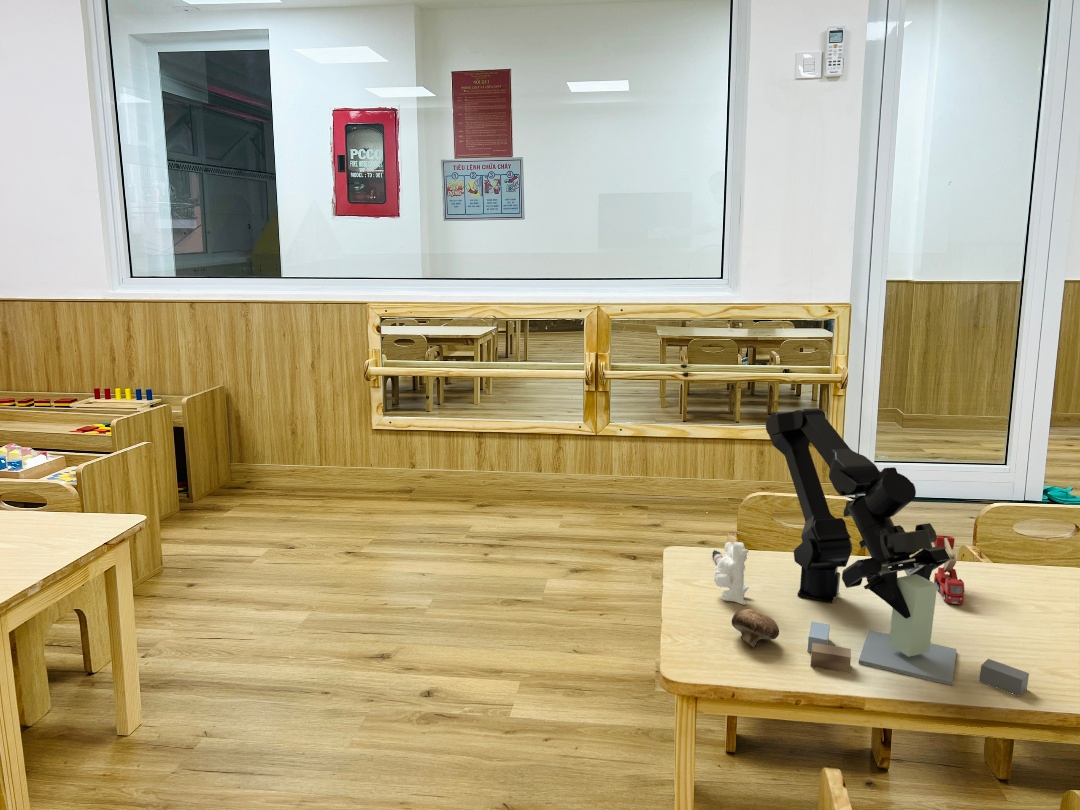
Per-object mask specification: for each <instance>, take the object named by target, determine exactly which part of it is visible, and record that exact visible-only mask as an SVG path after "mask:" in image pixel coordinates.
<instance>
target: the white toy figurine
mask: <svg viewBox="0 0 1080 810" xmlns="http://www.w3.org/2000/svg"><path fill="white" fill-rule="evenodd" d="M724 552H725V555H724V556H723V558H721V559H720V561H719V563H718V564H716V565H715V567H714V574H713V581H714V583H715V585H716V586H717V587H719V588H728V589H723V590H722V591H721V594H722V596H721V597H720V599H721V600H723V601H726V602H735V603H738V604H740V605H743V606H744V605H747V601H746V600H745V599H744V598H745V595H746V594H745V593H747V591H748V590H749V587H748V586H747V585H746V584H745V583H744V582H745V580H744V579H745V574H744V573H745V571H746V565H745V562H746V561H747V559H748V558H747V557H748V553H749V549H747V548H745V544H744V542H740V541H734V542H731V541H727V542H726V543H725V544H724ZM744 584H745V585H744Z"/></svg>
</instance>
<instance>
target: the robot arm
mask: <svg viewBox="0 0 1080 810" xmlns="http://www.w3.org/2000/svg"><path fill="white" fill-rule="evenodd" d="M765 429H766V433H767V434H768V436H769V439H770V441H771V443H772V445H773V447H774V448H775V449H777V450H778V451H779V452H780V453H781V454H782V455H783V456H784V458H785V462H786V464H787V467H788V470H789V475H790V476H791V481H792V483H793V487H794V490H795V493H796V496H797V499H798V503H799V505H800V509H801V512H802V515H803V517H804V521H805V522H804V525H803V528H802V532H801V536H800V537H801V541H802V542H801V543H800V544H799V545H798V546H796V548H795V549H794V550H793V557H794V558H793V559H794V562H795V563H796V564H798V565H799V566H800V567H801V572H800V582H799V583H800V584H799V590H798V592H797V597H801V598H805V599H810V600H815V601H820V602H825V603H833V602H834V599H835V598H836V597H837V596H838V595H839V592H840V583H841V582H840V581H841V579H842V582H843V584H844V586H845V587H846V589H849V588H853V587H859V586H861V585H862V582H863V579H864V578H866V584H865V585H864V586H863V588H864V590H868V591H870V592H873V594H874V595H876V596H878V597H879V598H880V599H881V600H883V601H884V602H885V603H886V604H888V605H889V606H890V607H891V608H892V609H893V608H894V609H895V610H896V611H897V612H898V613H899V614H901V615H902V616H903V617H904V618H909V617H910V616H911V615H910V612H909V609H908V607H907V604H906V602H905V600H904V598H903V596H902V593H901V591H900V589H899V587H898V585H897V578H898V572H901V571H902V572H903V571H904V573H905V576H909V575H914V574H917V575H919V576H921V577H923V578H925V579H927V580H929V581H931V575H932V572H933V571H934V570H936V569H937V568H939V567H940V566H943V565H944V563H946V562H947V561H949V560H950V558H949V556H948V553H947V550H946V549H944V548H942V547H940V546H937V547H935V546H933V544H932V543H933V542H936V540H937V534H936V530H935V528H934V526H932V524H931V523H930V522H929V523H920V524H915V529H914V530H911V531H906V530H905V529H904V527H903V526H901V525H900V524H899V525H895V524H894V521H893V520H892V518H891V517H894V516H896V515H897V514H898V513H899V512H901V511H902V510H903V509H904V508H905V507H907V505H909V504H911V502H913V501H914V499H915V498H916V496H917V495H916V494H917V490H916V487H915V484H914V483H913V482H912V481H911V480H910V479H909V478H908V477H907V476H905V475H903V474H901V473H899V472H898V470H897V468H896V467H884V468H883V469H882V470H881V471H880V470H879V467H877V465H876V464H875V463H873V462H872V461H871V460H870V459H869V458H868V457H867V456H865V455H863V454H860V453H858V452H855V451H854V450H853V449H851V447H849V446H848V444H847V443H846V441H845V440H844V439H843V438H842V436H840V434H839V433H838V432H837V431H836V429H835V428H834V427H833V425H832V424H831V423H830V422H829V420H828V419H827V418H826V415H825V412H824V410H823V409H821V408H820V409H819V408H817V407H814V408H812V407H811V408H799V409H797V410H794V411H793V410H791V411H774V412H772V413H771V414H770V416H769V417H768V418H767V419H766V421H765ZM810 444H812V446H813V447H814V449H815V450H816V451H817V453H818V454H819V455H820V457H822V458H821V459H823V460H824V462H825V463H826V465H827V467H828V469H829V471H828V478H829V481H830V482H831V484H832V486H833V488H834V490H835V491H836V493H837V494H838V495H839V496H841V497H843V496H845V497H847V496H858V497H856V498H855V499H852V500H848V501H846V502H845V508H844V509H843V513H842V515H843V517H844V518H847V517H852V520H853V522H854V524H855V526H856V528H857V531H858V532H859V534H860V536H861V538H862V539H861V541H859V542H858V543H859V546H860V548H861V549H863V548H864V549H865V548H866V549H867V551H868V554H869V555H870V558H863V559H859V560H855V561H854V562H852V564H850V565H849V566H847V564H848V562H849V559H850V556H851V554H852V551H853V543H852V541H851V537H852V536H851V535H850V533H849V531H848V528H847V524H846V521H845V519H843V518H842V517H838V518H836V517H835V516H834V515H833V514H832V513H831V510H830V507H829V505H828V501H827V499H826V495H825V493H824V490H823V486H822V484H821V481H820V477H819V475H818V472H817V468H816V466H815V463H814V459H813V456H812V454H811V450H810ZM838 568H844V569H843V570H842V574H841V573H840V572H839V571H838V570H839V569H838Z"/></svg>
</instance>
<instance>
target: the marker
mask: <svg viewBox="0 0 1080 810" xmlns="http://www.w3.org/2000/svg"><path fill="white" fill-rule="evenodd" d="M711 557H712V559H713V561H714V563H715V564H716V565H717V564H718V563H719V561H720V559H721V558H723V557H724V556H723V555H722V553H721V552H720V551H719V550H718V551H717V550H715V549H714V550H713V551H712V555H711Z"/></svg>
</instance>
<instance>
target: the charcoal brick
mask: <svg viewBox="0 0 1080 810" xmlns="http://www.w3.org/2000/svg"><path fill="white" fill-rule="evenodd" d="M1029 675H1030V673H1029V672H1027V671H1025V670H1021V669H1018V668H1016V667H1013V666H1009V665H1007V664H1004V663H1001V662H998V661H996V660H993V659H990V658H987V659H986V660H985V661H984V662H983V663H982V664H981V665H980V671H979V677H978V681H979V682H980V683H983V684H986V685H988V684H989V685H988V686H990V685H991V687H993V686H994V687H993V688H996V687H997V688H996V689H998V688H999V689H998V690H1001V689H1002V690H1001V691H1004V690H1005V691H1004V692H1006V691H1008V692H1007V693H1009V692H1010V693H1009V694H1012V693H1013V694H1012V695H1014V694H1015V696H1017V695H1018V696H1017V697H1022V695H1023V694H1024V693H1026V691H1027V690H1028V684H1029Z"/></svg>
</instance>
